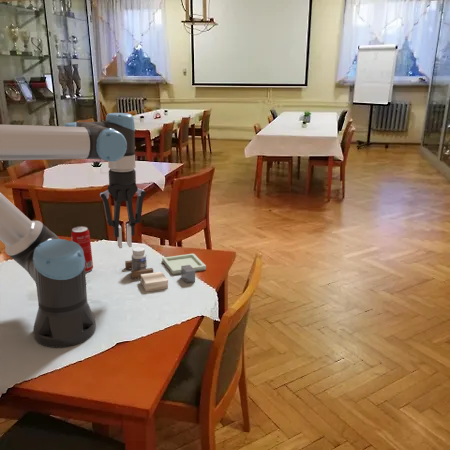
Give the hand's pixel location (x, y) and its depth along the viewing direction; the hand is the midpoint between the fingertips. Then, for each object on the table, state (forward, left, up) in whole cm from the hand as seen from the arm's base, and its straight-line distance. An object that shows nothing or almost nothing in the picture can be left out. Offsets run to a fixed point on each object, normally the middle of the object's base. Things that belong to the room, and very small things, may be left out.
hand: (124, 245), depth 136 cm
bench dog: (0, -21, -14) cm, 25 cm away
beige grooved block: (0, -9, -15) cm, 17 cm away
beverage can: (+19, +10, -15) cm, 26 cm away
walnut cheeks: (+11, -7, -14) cm, 19 cm away
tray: (+11, -23, -14) cm, 29 cm away
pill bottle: (+11, -7, -15) cm, 20 cm away
